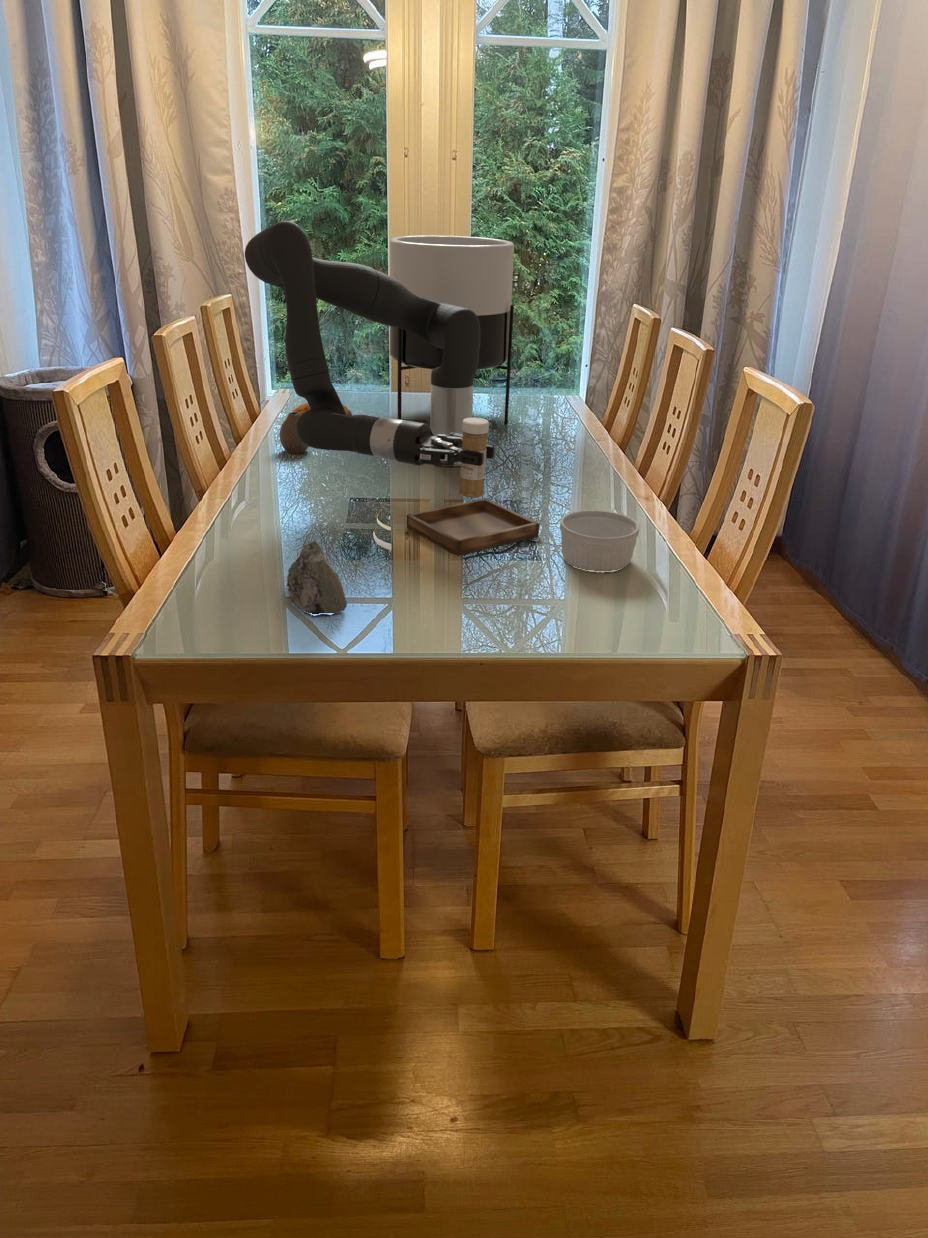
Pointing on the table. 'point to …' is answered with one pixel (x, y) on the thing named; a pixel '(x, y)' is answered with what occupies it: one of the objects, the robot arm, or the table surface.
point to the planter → (456, 295)
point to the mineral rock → (315, 582)
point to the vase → (291, 435)
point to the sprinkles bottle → (476, 442)
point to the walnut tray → (472, 526)
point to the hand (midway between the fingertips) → (488, 456)
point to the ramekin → (598, 539)
